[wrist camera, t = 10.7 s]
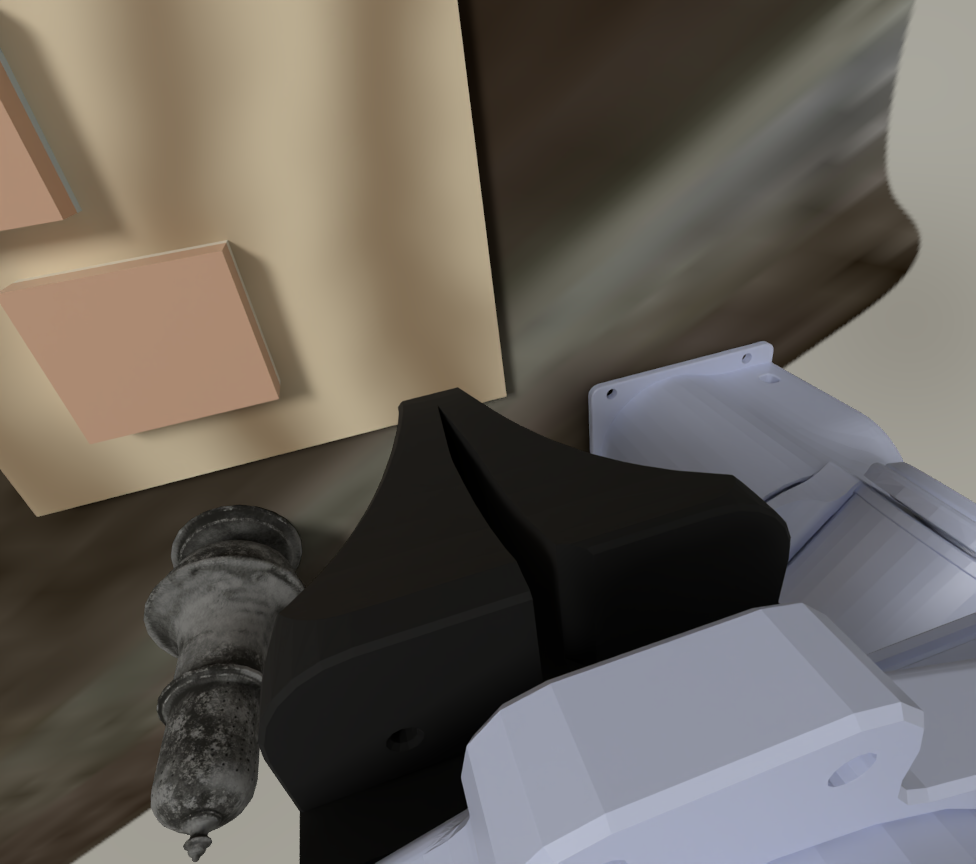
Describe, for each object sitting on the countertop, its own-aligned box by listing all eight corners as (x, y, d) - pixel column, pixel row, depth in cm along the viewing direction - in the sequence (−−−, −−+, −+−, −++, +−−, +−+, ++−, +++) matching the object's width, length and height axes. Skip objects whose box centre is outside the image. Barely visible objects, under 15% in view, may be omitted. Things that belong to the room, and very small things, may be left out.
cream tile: (221, 250, 16) (-6, 294, 15) (279, 399, 19) (89, 444, 18) (227, 239, 17) (18, 279, 16) (280, 380, 20) (103, 422, 19)
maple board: (432, -125, 15) (440, -138, 14) (499, 386, 24) (506, 396, 23) (-363, -55, 12) (-411, -67, 11) (47, 500, 21) (36, 516, 20)
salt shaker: (312, 499, 24) (319, 777, 14) (305, 597, 27) (306, 889, 17) (159, 499, 22) (42, 822, 12) (167, 605, 25) (77, 940, 15)
